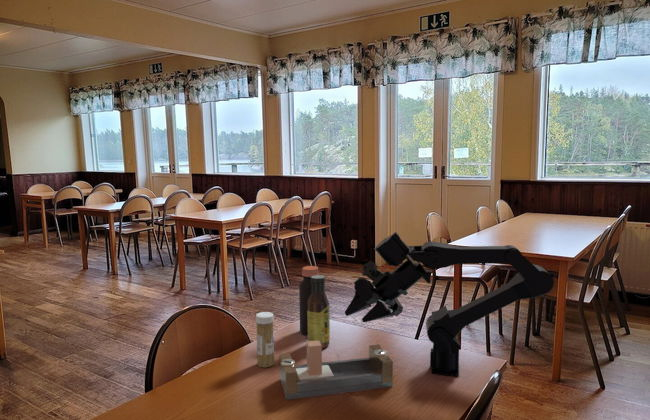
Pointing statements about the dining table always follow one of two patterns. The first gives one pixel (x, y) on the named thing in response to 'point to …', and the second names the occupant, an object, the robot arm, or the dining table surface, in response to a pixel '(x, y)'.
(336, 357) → the dining table surface
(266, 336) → the sprinkles bottle
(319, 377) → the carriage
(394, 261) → the robot arm
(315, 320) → the sauce bottle
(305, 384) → the rail
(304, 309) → the vinegar
